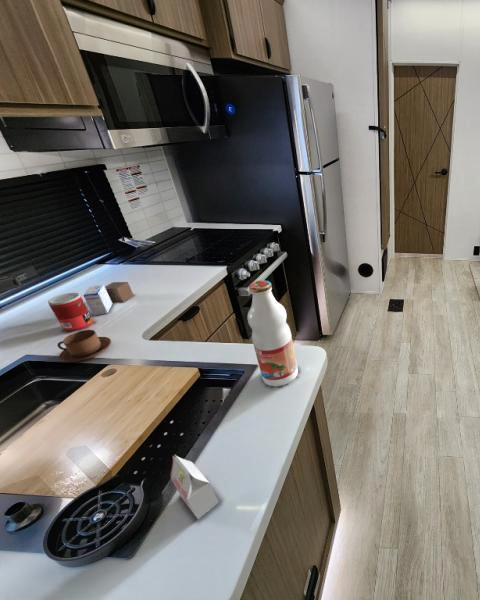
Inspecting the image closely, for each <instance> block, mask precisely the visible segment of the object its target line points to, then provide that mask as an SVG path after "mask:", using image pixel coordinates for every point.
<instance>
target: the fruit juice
mask: <svg viewBox="0 0 480 600" xmlns="http://www.w3.org/2000/svg"><path fill="white" fill-rule="evenodd" d="M248 287H249V288H248V290H249V292H250V294H251V295H252V301H251V306H250V308H249V310H248V312H247V316H246V317H247V323H248V325H249V327H250V328H251V330H252V331H251V340H252V345H253V348H254V352H255V356H256V359H257V363H258V368H259V371H260V374H261V378H262V381H263V382H264V383H265V384H266V385H267V386H270V387H281V386H285V385H288V384H290V383H291V382H293V381H294V380H295V379H296V377H297V376H298V373H299V366H298V361H297V357H296V352H295V346H294V342H293V337H292V336H293V335H292V331H291V327H290V325H289V324H288V323H287V318H288V317H287V310H286V308H285V307H284V305H282V304H281V303H280V302H278V301H277V300H276V297H275V296H274V294H273V292H272V289H273V285H272V283H271V281H269V280H266V279H261V280H256V281H252V282H251V283H250V284H249V286H248Z"/></svg>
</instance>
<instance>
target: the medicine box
mask: <svg viewBox="0 0 480 600" xmlns="http://www.w3.org/2000/svg"><path fill="white" fill-rule="evenodd" d="M83 299H84V301H85V302H86V304H87V305H88V307H89V310H90V312H91V314H92V315H93V316H100V315H105V314H108V313H109V312H110V310H111V307H112V305H113V302H112V301H111V299H110V297H109V295H108V293H107V290H106V288H105V285H104V284H98V285H91V286H89V287H88V288H87V289H86V291H85V292H84V294H83Z"/></svg>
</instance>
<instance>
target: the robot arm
mask: <svg viewBox="0 0 480 600" xmlns="http://www.w3.org/2000/svg"><path fill="white" fill-rule="evenodd" d="M37 275H38V272H37V270H36V269H35V267H34V265H29V266H27V267H23V268H22V269H19V270H16V271H14V272H10V273H9V274H6V276H3V277H0V293H1V292H4V291H9V290H12V289H15V288H16V289H18V288H19V287H21V286H22V282H24V281H27V280H29V279H31V278H33V277H35V276H37Z"/></svg>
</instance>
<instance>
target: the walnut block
mask: <svg viewBox="0 0 480 600" xmlns="http://www.w3.org/2000/svg"><path fill="white" fill-rule="evenodd" d="M104 286H105V285H104ZM105 288H106V290H107V293H108V295H109V297H110V299H111V301H112V303H124V302H126V301H127V300H129V299H130V298H132V297H134V292H133V291H132V289H131V286H130V283H129V282H128V281H112V282H111V283H109V284H107V285H106V286H105Z"/></svg>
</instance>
